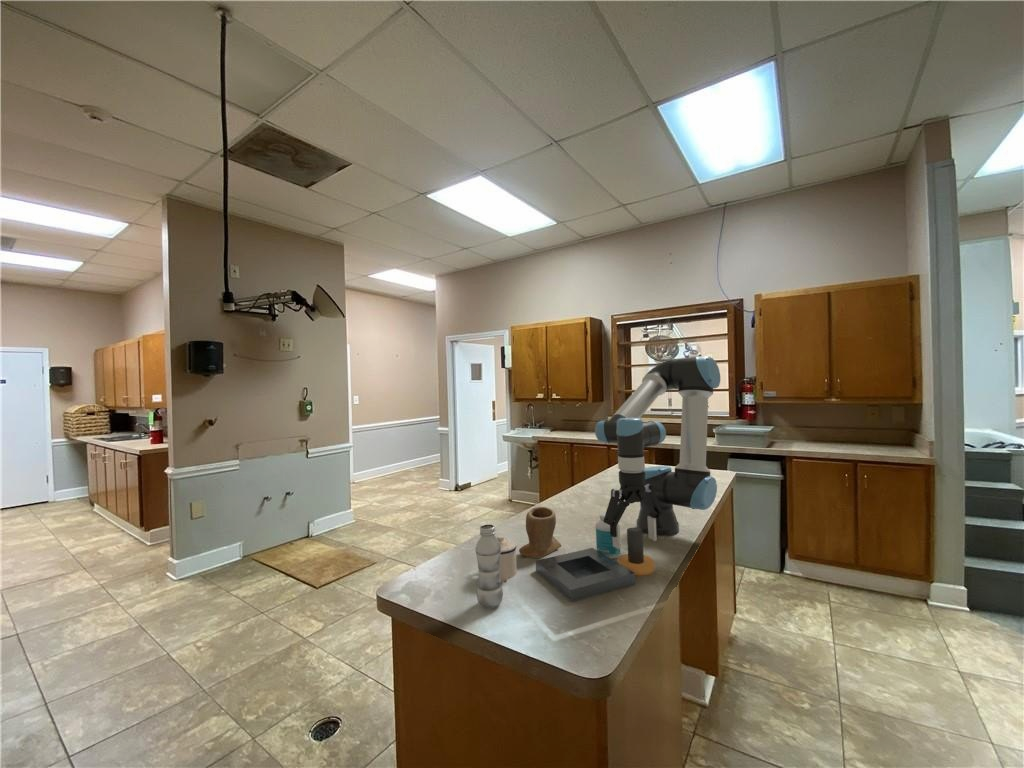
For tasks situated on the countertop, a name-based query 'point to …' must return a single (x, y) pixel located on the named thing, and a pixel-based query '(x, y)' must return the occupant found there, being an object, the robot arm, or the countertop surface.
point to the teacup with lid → (507, 559)
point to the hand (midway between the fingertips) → (635, 543)
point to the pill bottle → (605, 539)
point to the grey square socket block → (584, 574)
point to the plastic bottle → (488, 568)
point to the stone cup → (540, 533)
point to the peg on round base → (636, 554)
